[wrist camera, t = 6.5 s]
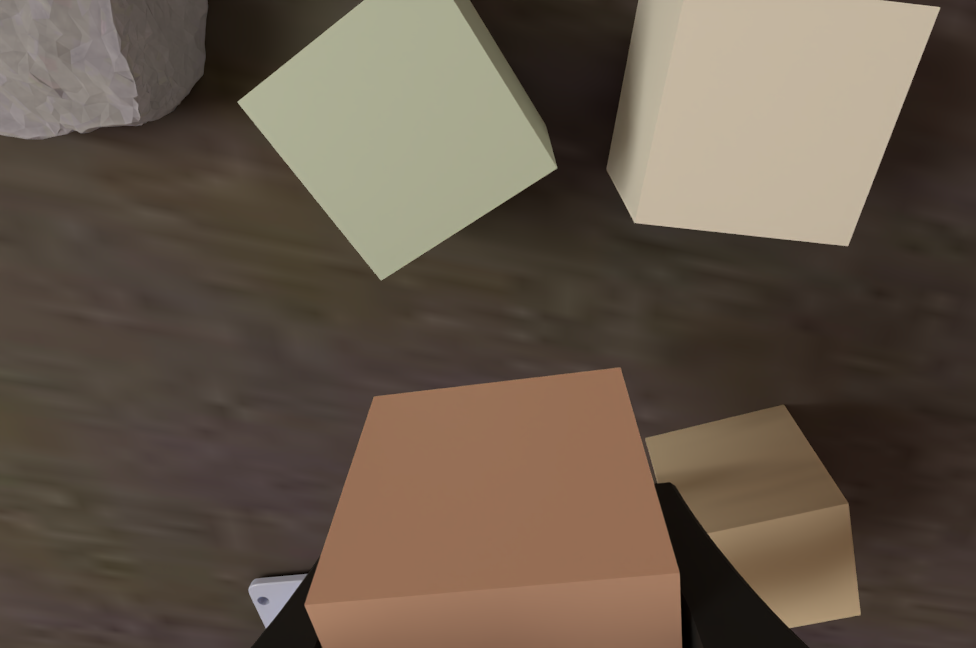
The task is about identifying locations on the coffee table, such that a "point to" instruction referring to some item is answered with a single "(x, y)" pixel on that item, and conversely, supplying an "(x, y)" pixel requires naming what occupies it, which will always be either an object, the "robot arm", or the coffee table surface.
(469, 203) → the sage cube
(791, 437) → the maple cube
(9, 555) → the coffee table surface
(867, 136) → the cream cube
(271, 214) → the coffee table surface
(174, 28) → the stone block
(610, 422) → the terracotta cube
